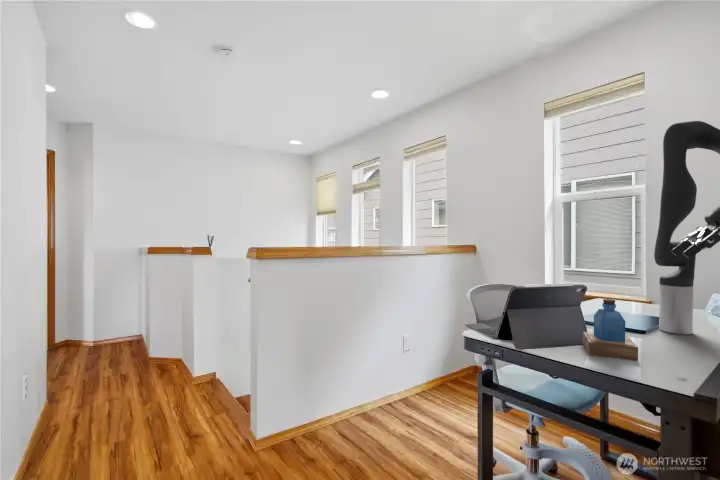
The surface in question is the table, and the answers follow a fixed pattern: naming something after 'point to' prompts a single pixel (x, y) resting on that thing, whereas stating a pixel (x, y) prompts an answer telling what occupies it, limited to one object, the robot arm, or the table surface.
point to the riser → (610, 347)
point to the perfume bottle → (609, 323)
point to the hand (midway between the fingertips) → (679, 254)
